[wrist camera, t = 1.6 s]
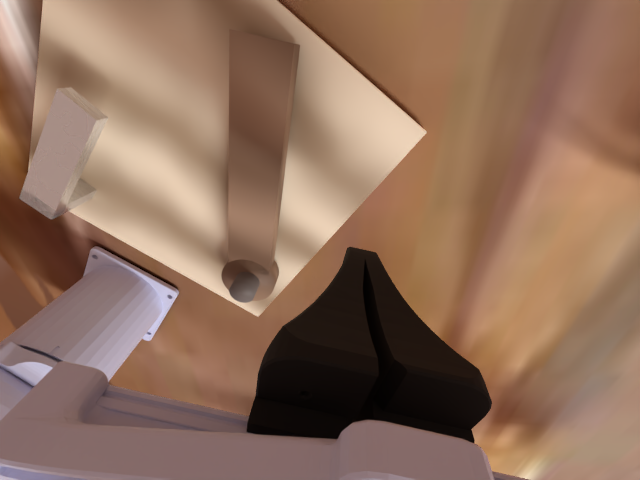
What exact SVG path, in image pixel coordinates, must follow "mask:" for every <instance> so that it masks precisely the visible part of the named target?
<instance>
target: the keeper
mask: <svg viewBox="0 0 640 480" xmlns="http://www.w3.org/2000/svg"><path fill="white" fill-rule="evenodd" d="M107 119H108V117H107V116H106V115H104V114H103V113H102V112H101V111H99V110H98V109H97V108H96V107H95V106H93V105H92V104H91V103H90V102H89V101H87V100H86V99H85V98H84V97H82V96H81V95H80V94H79V93H78V92H76V91H75V90H74V89H73V88H71V87H69V88H59V89H57V90H56V93H55V96H54V99H53V102H52V104H51V107H50V110H49V113H48V116H47V119H46V122H45V125H44V128H43V131H42V133H41V136H40V139H39V142H38V145H37V148H36V151H35V154H34V157H33V159H32V162H31V165H30V168H29V171H28V174H27V177H26V180H25V183H24V185H23V188H22V191H21V194H20V197H19V199H20V200H22V201H23V202H25V203H27V204H28V205H30V206H31V207H33V208H34V209H36V210H37V211H39V212H40V213H42V214H43V215H45V216H46V217H48V218H49V219H51V220H52V219H54V218H56V217H58V216H60V215H62V214H64V213H66V212H67V211H69V210H71V209H73V208H75V207H77V206H79V205H81V204H83V203H85V202H87V201H88V200H90V199H92V198H93V196H94V194H95V192H96V191H97V190H96V189H95V188H94V187H92V186H91V185H89V184H88V183H87V182H85V181H84V180H83V179H81V178H80V176H81V174H82V172H83V170H84V168H85V166H86V164H87V161H88V159H89V157H90V155H91V153H92V151H93V149H94V147H95V145H96V143H97V140H98V138H99V136H100V134H101V132H102V130H103V128H104V126H105V124H106V122H107Z"/></svg>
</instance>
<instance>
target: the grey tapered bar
mask: <svg viewBox="0 0 640 480" xmlns="http://www.w3.org/2000/svg"><path fill="white" fill-rule="evenodd" d="M299 51H300V45H299V44H294V43H290V42H285V41H281V40H276V39H272V38H267V37H263V36H259V35H254V34H250V33H245V32H241V31H236V30H232V29H229V189H228V262H227V263H226V265H225V266H224V268H223V270H222V274H221V276H222V281H223V283H224V285H225V287H226V288H227V289H228V290H229V293H230V295H231V297H232V298H233V299H235V300H236V301H239V302H242V303H247V302H250V301H259V300H263V299H265V298H267V297H269V296H270V295H271V294H272V292H273V290H274V287H275V284H276V282H277V279H278V276H279V268H278V265H277V263H276V261H275V260H274V258H275V250H276V242H277V233H278V225H279V217H280V209H281V200H282V192H283V184H284V175H285V167H286V159H287V151H288V142H289V134H290V126H291V117H292V109H293V101H294V93H295V84H296V76H297V68H298V60H299Z"/></svg>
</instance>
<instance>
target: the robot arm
mask: <svg viewBox="0 0 640 480" xmlns="http://www.w3.org/2000/svg"><path fill="white" fill-rule="evenodd" d="M178 294H179V292H178V290H177V289H176V288H174V287H172V286H171V285H169V284H167V283H165V282H163V281H161V280H159V279H158V278H156V277H154V276H152V275H150V274H148V273H147V272H145V271H143V270H141V269H139V268H137V267H135V266H134V265H132V264H130V263H128V262H126V261H124V260H123V259H121V258H119V257H117V256H115V255H113V254H111V253H110V252H108V251H106V250H104V249H102V248H100V247H98V246H95V247H93V248H92V249H91V250H90V253H89V257H88V261H87V264H86V268H85V271H84V275H83V278H82V279H80V280H79V281H78V282H77V283H75V284H74V285H73V286H71V287H70V288H69V289H68V290H66V291H65V292H64V293H63V294H61V295H60V296H59V297H58V298H56V299H55V300H54V301H52V302H51V303H50V304H49V305H47V306H46V307H45V308H44V309H42V310H41V311H40V312H39V313H37V314H36V315H35V316H34V317H32V318H31V319H30V320H29V321H27V322H26V323H25V324H23V325H22V326H21V327H20V328H18V329H17V330H16V331H15V332H13V333H12V334H11V335H9V336H8V337H7V338H6V339H4V340H3V341H2V342H1V343H0V480H529V479H524V478H520V477H515V476H511V475H506V474H502V473H498V472H493V471H492V470H491V467H490V464H489V461H488V458H487V455H486V454H485V453H484V451H483V450H482V449H481V447H479V446H478V445H476V444H474V437H473V434H472V430H471V429H472V428H473V427H474V426H475V425H476V424H477V423H478V422H479V421H481V420H482V419H483V418H484V417H485V416H486V414H487V413H488V412H489V410H490V409H491V404H492V401H491V399H490V396H489V393H488V390H487V387H486V384H485V382H484V380H483V377H482V375H481V373H480V371H479V369H478V368H476V367H475V366H474V365H472V364H471V363H470V362H468V361H467V360H466V359H464V358H463V357H462V356H460V355H459V354H458V353H456V352H455V351H454V350H453V349H452V348H451V347H449V346H448V345H447V344H446V343H445V342H444V341H442V340H441V339H440V338H439V337H438V336H437V335H436V334H435V333H434V332H433V331H432V330H431V329H430V328H429V327H428V326H427V325H426V324H425V323H424V322H423V321H422V320H421V319H420V318H419V317H418V316H417V315H416V313H415V312H414V311H413V310H412V309H411V307H410V306H409V305H408V304H407V302H406V301H405V300H404V298H403V297H402V296H401V294H400V293H399V291H398V290H397V288H396V287H395V285H394V284H393V282H392V280H391V279H390V277H389V275H388V274H387V272H386V270H385V268H384V266H383V264H382V263H381V261H380V259H379V257H378V255H377V253H375V252H371V251H367V250H362V249H358V248H353V247H349V248H347V250H346V254H345V257H344V261H343V264H342V266H341V268H340V270H339V272H338V273H337V275H336V276H335V278H334V279H333V281H332V282H331V283H330V285H329V286H328V287H327V289H326V290H325V291H324V292H323V293H322V294H321V295H320V296H319V298H318V299H317V300H316V301H315V302H314V303H313V304H312V305H310V306H309V307H308V308H307V309H306V310H305V311H303V312H302V313H301V314H300V315H298V316H297V317H296V318H294V319H293V320H291V321H290V322H288V323H287V324H285V325H284V326H283V327H282V328H281V330H280V331H279V332H278V334H277V335H276V336H275V338H274V339H273V341H272V342H271V344H270V346H269V347H268V349H267V351H266V353H265V355H264V357H263V360H262V363H261V366H260V370H259V373H258V380H257V389H256V396H255V400H254V403H253V406H252V409H251V412H250V416H245V415H240V414H236V413H231V412H227V411H223V410H218V409H214V408H209V407H205V406H200V405H196V404H191V403H187V402H183V401H178V400H174V399H169V398H165V397H160V396H156V395H152V394H147V393H143V392H138V391H134V390H129V389H125V388H121V387H116V386H112V385H109V383H108V382H109V380H110V379H111V378H112V376H113V375H114V374H115V373H116V371H117V370H118V369H119V367H120V366H121V365H122V364H123V362H124V361H125V360H126V358H127V357H128V356H129V355H130V353H131V352H132V351H133V349H134V348H135V347H136V346H137V344H138V343H139V342H140V340H141V339H144V340H147V341H149V340H151V339H152V337H153V336H154V334H155V332H156V331H157V329H158V327H159V326H160V324H161V322H162V321H163V319H164V317H165V316H166V314H167V312H168V311H169V309H170V307H171V306H172V304H173V302H174V301H175V299H176V297H177V296H178Z"/></svg>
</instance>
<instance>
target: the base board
mask: <svg viewBox="0 0 640 480" xmlns="http://www.w3.org/2000/svg"><path fill="white" fill-rule="evenodd" d="M229 29H232V30H236V31H241V32H245V33H250V34H254V35H259V36H263V37H267V38H272V39H276V40H281V41H285V42H290V43H294V44H299V45H300V51H299V60H298V68H297V76H296V84H295V93H294V101H293V109H292V117H291V126H290V134H289V142H288V151H287V159H286V167H285V175H284V184H283V192H282V200H281V209H280V217H279V225H278V233H277V242H276V250H275V258H274V260H275V261H276V263H277V265H278V268H279V276H278V279H277V282H276V284H275V287H274V290H273V292H272V294H271V295H270V296H269V297H267V298H265V299H263V300H259V301H250V302H247V303H242V302H239V301H236V300H235V299H233V298H232V297H231V295H230V293H229V290H228V289H227V288H226V287H225V285H224V283H223V281H222V276H221V274H222V270H223V268H224V266H225V265H226V263H227V262H228V189H229ZM69 87H71V88H73V89H74V90H75V91H76V92H78V93H79V94H80V95H81V96H82V97H84V98H85V99H86V100H87V101H89V102H90V103H91V104H92V105H93V106H95V107H96V108H97V109H98V110H99V111H101V112H102V113H103V114H104V115H106V116H107V117H108V119H107V122H106V124H105V126H104V128H103V130H102V132H101V134H100V136H99V138H98V140H97V143H96V145H95V147H94V149H93V151H92V153H91V155H90V157H89V159H88V161H87V164H86V166H85V168H84V170H83V172H82V174H81V176H80V178H81V179H83V180H84V181H85V182H87V183H88V184H89V185H91V186H92V187H94V188H95V189H96V190H97V191H96V192H95V194H94V196H93V198H92V199H90V200H88V201H87V202H85V203H83V204H81V205H79V206H77V207H75V208H73V209H71V210H69V212H71V213H73V214H75V215H77V216H78V217H80V218H82V219H84V220H86V221H87V222H89V223H91V224H93V225H95V226H96V227H98V228H100V229H102V230H104V231H105V232H107V233H109V234H111V235H113V236H114V237H116V238H118V239H120V240H121V241H123V242H125V243H127V244H129V245H130V246H132V247H134V248H136V249H138V250H139V251H141V252H143V253H145V254H147V255H148V256H150V257H152V258H154V259H156V260H157V261H159V262H161V263H163V264H164V265H166V266H168V267H170V268H172V269H173V270H175V271H177V272H179V273H181V274H182V275H184V276H186V277H188V278H190V279H191V280H193V281H195V282H197V283H199V284H200V285H202V286H204V287H206V288H208V289H209V290H211V291H213V292H215V293H216V294H218V295H220V296H222V297H224V298H225V299H227V300H229V301H231V302H233V303H234V304H236V305H238V306H240V307H242V308H243V309H245V310H247V311H249V312H251V313H252V314H254V315H256V316H259V315H260V314H261V313H262V312H263V311H264V310H265V309H266V308H267V306H268V305H269V304H270V303H271V302H272V301H273V300H274V299H275V298H276V297H277V296H278V294H279V293H280V292H281V291H282V290H283V289H284V288H285V287H286V286H287V285H288V284H289V282H290V281H291V280H292V279H293V278H294V277H295V276H296V275H297V274H298V273H299V272H300V270H301V269H302V268H303V267H304V266H305V265H306V264H307V263H308V262H309V261H310V259H311V258H312V257H313V256H314V255H315V254H316V253H317V252H318V251H319V250H320V249H321V247H322V246H323V245H324V244H325V243H326V242H327V241H328V240H329V239H330V238H331V237H332V235H333V234H334V233H335V232H336V231H337V230H338V229H339V228H340V227H341V226H342V225H343V223H344V222H345V221H346V220H347V219H348V218H349V217H350V216H351V215H352V214H353V212H354V211H355V210H356V209H357V208H358V207H359V206H360V205H361V204H362V203H363V202H364V200H365V199H366V198H367V197H368V196H369V195H370V194H371V193H372V192H373V191H374V190H375V188H376V187H377V186H378V185H379V184H380V183H381V182H382V181H383V180H384V179H385V177H386V176H387V175H388V174H389V173H390V172H391V171H392V170H393V169H394V168H395V167H396V165H397V164H398V163H399V162H400V161H401V160H402V159H403V158H404V157H405V156H406V155H407V153H408V152H409V151H410V150H411V149H412V148H413V147H414V146H415V145H416V144H417V143H418V141H419V140H420V139H421V138H422V137H423V136H424V135H425V134H426V133H427V132H426V130H425V129H424V128H423V127H421V126H420V125H419V124H418V123H417V122H416V121H415V120H413V119H412V118H411V117H410V116H409V115H408V114H407V113H405V112H404V111H403V110H402V109H401V108H400V107H399V106H397V105H396V104H395V103H394V102H393V101H392V100H391V99H390V98H388V97H387V96H386V95H385V94H384V93H383V92H382V91H380V90H379V89H378V88H377V87H376V86H375V85H374V84H372V83H371V82H370V81H369V80H368V79H367V78H366V77H364V76H363V75H362V74H361V73H360V72H359V71H358V70H356V69H355V68H354V67H353V66H352V65H351V64H350V63H348V62H347V61H346V60H345V59H344V58H343V57H342V56H340V55H339V54H338V53H337V52H336V51H335V50H334V49H333V48H331V47H330V46H329V45H328V44H327V43H326V42H325V41H323V40H322V39H321V38H320V37H319V36H318V35H317V34H315V33H314V32H313V31H312V30H311V29H310V28H309V27H307V26H306V25H305V24H304V23H303V22H302V21H301V20H299V19H298V18H297V17H296V16H295V15H294V14H293V13H291V12H290V11H289V10H288V9H287V8H286V7H285V6H283V5H282V4H281V3H280V2H279V1H278V0H43V6H42V18H41V29H40V41H39V53H38V64H37V76H36V87H35V99H34V110H33V122H32V133H31V145H30V157H29V168H30V165H31V162H32V159H33V157H34V154H35V151H36V148H37V145H38V142H39V139H40V136H41V133H42V131H43V128H44V125H45V122H46V119H47V116H48V113H49V110H50V107H51V104H52V102H53V99H54V96H55V93H56V90H57V89H59V88H69ZM29 168H28V171H29Z"/></svg>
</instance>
